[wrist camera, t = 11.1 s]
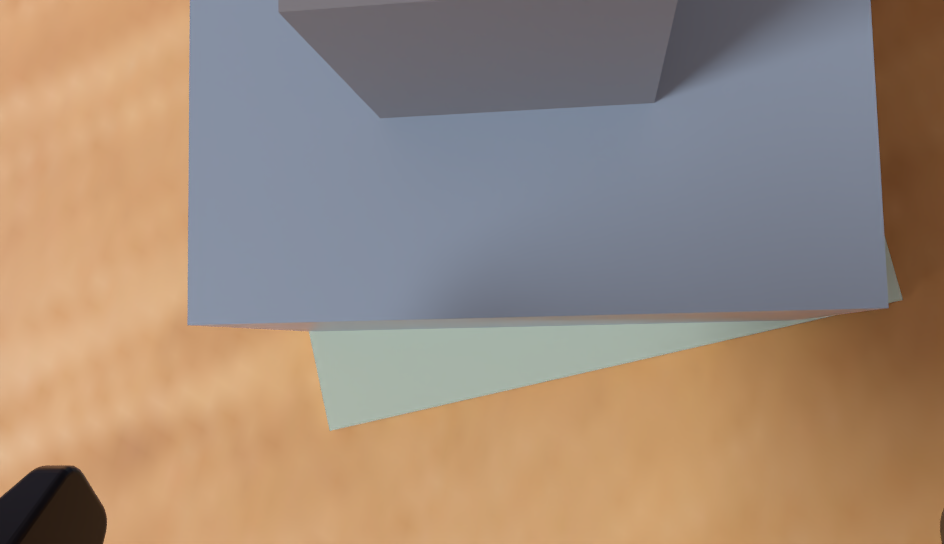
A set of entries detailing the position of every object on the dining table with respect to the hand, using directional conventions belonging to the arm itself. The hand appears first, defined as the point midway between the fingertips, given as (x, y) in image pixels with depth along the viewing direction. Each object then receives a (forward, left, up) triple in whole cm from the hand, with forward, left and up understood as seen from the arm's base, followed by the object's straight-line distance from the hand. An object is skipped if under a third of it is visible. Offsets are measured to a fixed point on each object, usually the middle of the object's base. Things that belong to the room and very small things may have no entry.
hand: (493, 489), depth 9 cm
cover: (+7, -1, -9) cm, 12 cm away
